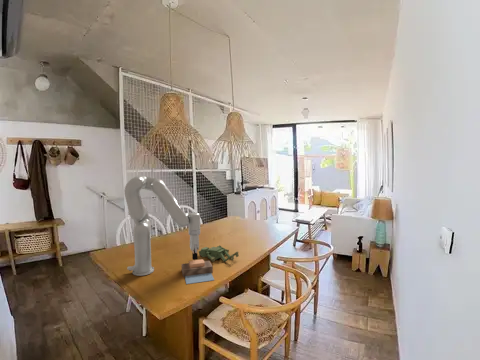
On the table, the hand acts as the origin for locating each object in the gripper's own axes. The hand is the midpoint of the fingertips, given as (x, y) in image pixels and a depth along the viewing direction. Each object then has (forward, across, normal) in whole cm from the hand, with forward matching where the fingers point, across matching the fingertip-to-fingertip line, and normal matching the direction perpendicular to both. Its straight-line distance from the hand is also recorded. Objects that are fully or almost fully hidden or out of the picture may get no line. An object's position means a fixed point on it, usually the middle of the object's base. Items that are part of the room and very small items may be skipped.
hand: (195, 259), depth 168 cm
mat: (+5, +19, 0) cm, 20 cm away
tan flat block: (+1, +8, 0) cm, 8 cm away
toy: (+5, -9, +17) cm, 20 cm away
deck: (+5, +9, 0) cm, 10 cm away
